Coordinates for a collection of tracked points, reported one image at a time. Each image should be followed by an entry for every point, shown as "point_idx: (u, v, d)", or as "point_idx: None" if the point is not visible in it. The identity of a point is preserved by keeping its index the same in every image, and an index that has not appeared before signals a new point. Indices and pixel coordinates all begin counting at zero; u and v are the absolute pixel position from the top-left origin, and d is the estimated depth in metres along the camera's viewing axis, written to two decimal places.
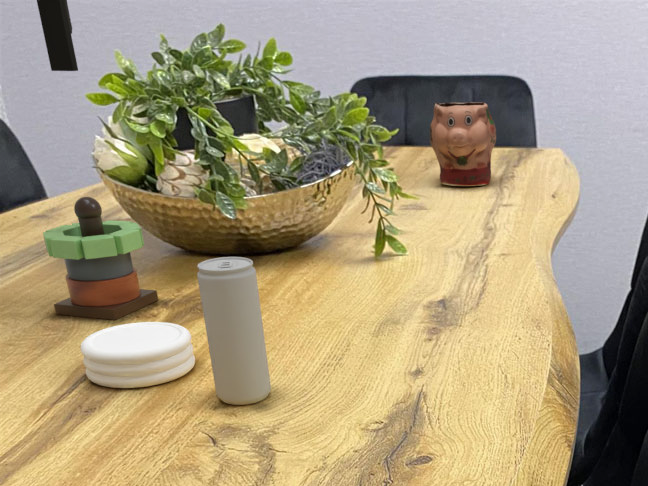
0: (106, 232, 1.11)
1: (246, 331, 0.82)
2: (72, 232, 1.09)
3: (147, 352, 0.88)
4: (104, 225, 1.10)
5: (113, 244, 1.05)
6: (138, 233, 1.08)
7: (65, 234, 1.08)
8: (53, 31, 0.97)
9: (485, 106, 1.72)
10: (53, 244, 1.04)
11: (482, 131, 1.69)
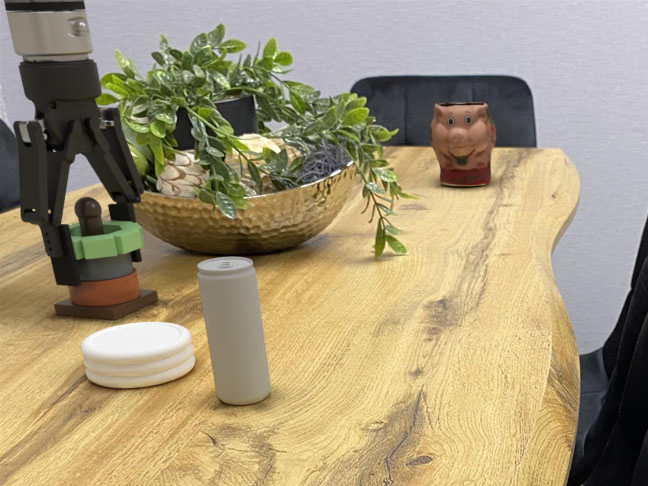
0: (106, 232, 1.11)
1: (246, 331, 0.82)
2: (72, 232, 1.09)
3: (147, 352, 0.88)
4: (104, 225, 1.10)
5: (113, 244, 1.05)
6: (138, 233, 1.08)
7: None
8: None
9: (485, 106, 1.72)
10: None
11: (482, 131, 1.69)
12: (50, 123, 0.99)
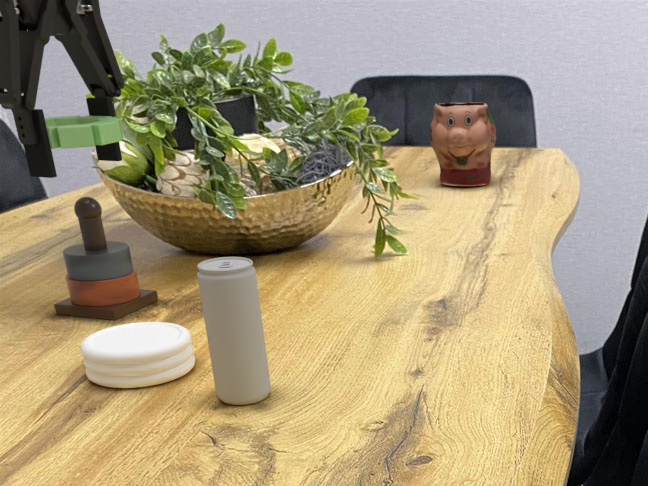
0: None
1: (246, 331, 0.82)
2: (48, 124, 1.04)
3: (147, 352, 0.88)
4: (82, 119, 1.05)
5: (90, 133, 0.99)
6: (117, 125, 1.02)
7: None
8: None
9: (485, 106, 1.72)
10: None
11: (482, 131, 1.69)
12: None
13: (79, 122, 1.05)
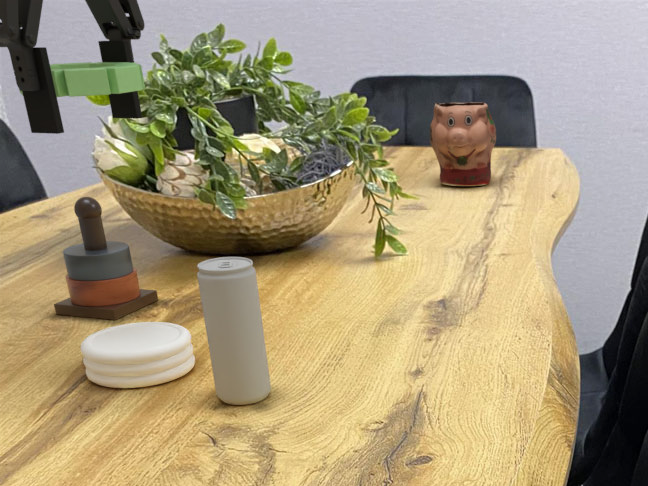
0: None
1: (246, 331, 0.82)
2: None
3: (147, 352, 0.88)
4: (94, 65, 0.86)
5: (105, 78, 0.81)
6: (137, 70, 0.84)
7: None
8: None
9: (485, 106, 1.72)
10: None
11: (482, 131, 1.69)
12: None
13: None
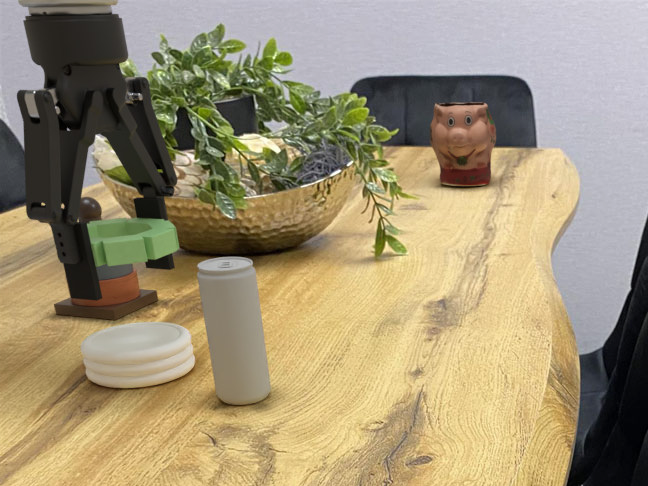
0: (132, 232, 0.90)
1: (246, 331, 0.82)
2: (90, 232, 0.88)
3: (147, 352, 0.88)
4: (129, 224, 0.89)
5: (142, 247, 0.83)
6: (172, 233, 0.86)
7: None
8: None
9: (485, 106, 1.72)
10: None
11: (482, 131, 1.69)
12: (64, 93, 0.77)
13: (126, 227, 0.90)
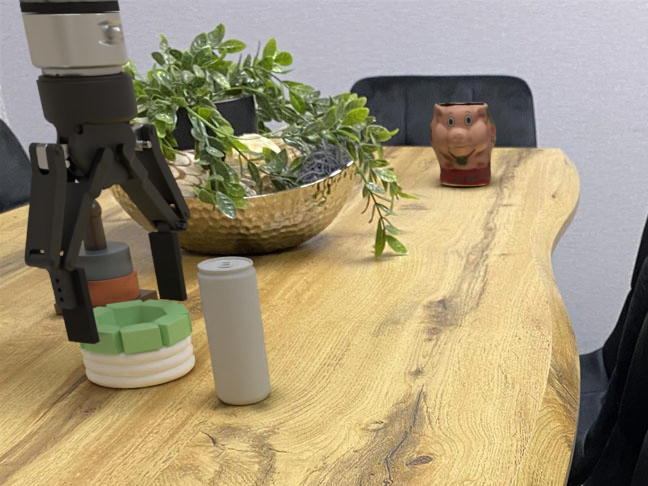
0: (147, 315, 0.93)
1: (246, 331, 0.82)
2: (107, 316, 0.91)
3: (147, 352, 0.88)
4: (144, 307, 0.93)
5: (158, 335, 0.87)
6: (186, 319, 0.90)
7: (99, 320, 0.91)
8: (164, 263, 0.94)
9: (485, 106, 1.72)
10: None
11: (482, 131, 1.69)
12: (75, 152, 0.80)
13: (141, 310, 0.93)
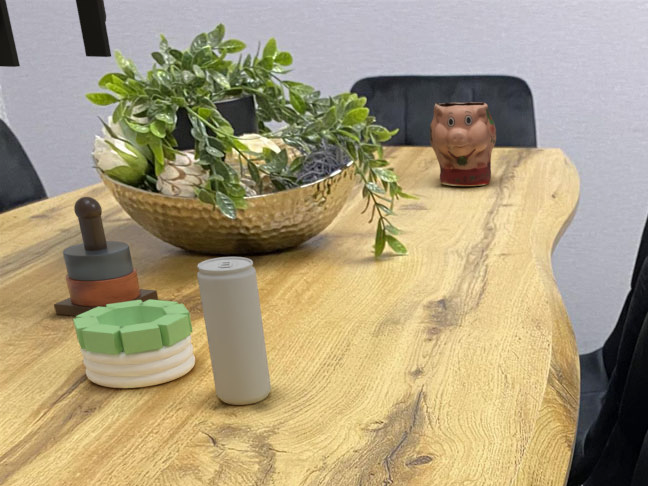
0: (147, 315, 0.93)
1: (246, 331, 0.82)
2: (107, 316, 0.91)
3: (147, 352, 0.88)
4: (144, 307, 0.93)
5: (158, 335, 0.87)
6: (186, 319, 0.90)
7: (99, 320, 0.91)
8: (89, 18, 1.03)
9: (485, 106, 1.72)
10: (86, 335, 0.87)
11: (482, 131, 1.69)
12: None
13: (141, 310, 0.93)
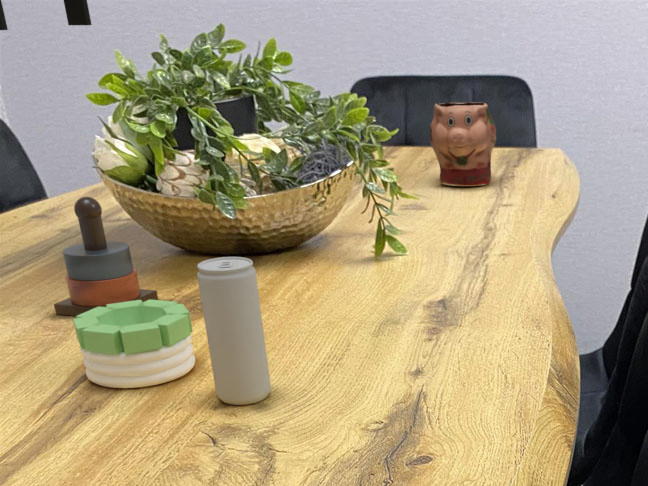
0: (147, 315, 0.93)
1: (246, 331, 0.82)
2: (107, 316, 0.91)
3: (147, 352, 0.88)
4: (144, 307, 0.93)
5: (158, 335, 0.87)
6: (186, 319, 0.90)
7: (99, 320, 0.91)
8: None
9: (485, 106, 1.72)
10: (86, 335, 0.87)
11: (482, 131, 1.69)
12: None
13: (141, 310, 0.93)
